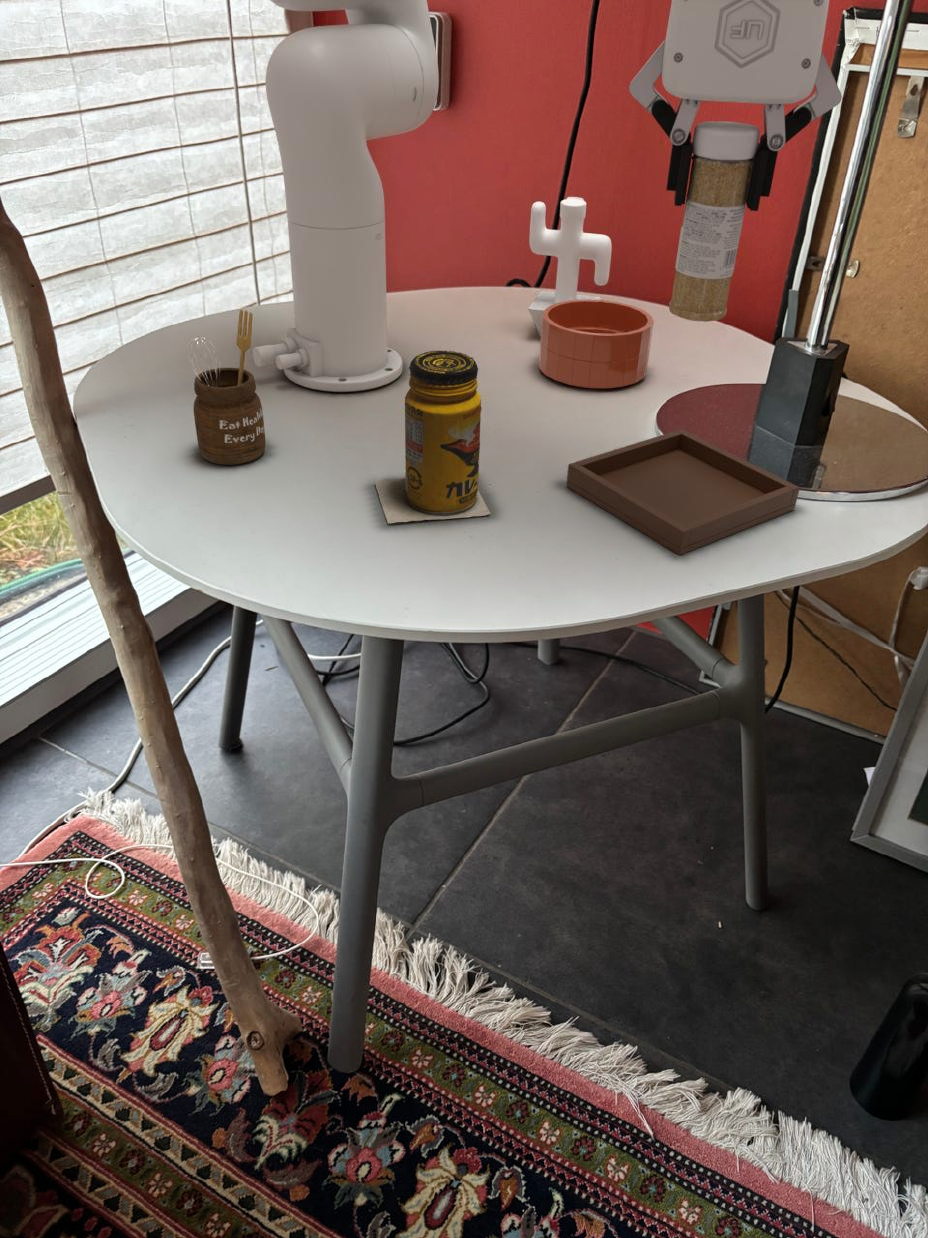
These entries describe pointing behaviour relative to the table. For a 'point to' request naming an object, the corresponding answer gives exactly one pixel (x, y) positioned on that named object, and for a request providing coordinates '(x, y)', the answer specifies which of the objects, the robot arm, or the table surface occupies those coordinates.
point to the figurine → (567, 253)
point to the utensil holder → (229, 408)
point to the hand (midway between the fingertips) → (715, 201)
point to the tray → (682, 489)
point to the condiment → (438, 443)
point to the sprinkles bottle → (712, 218)
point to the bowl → (595, 343)
